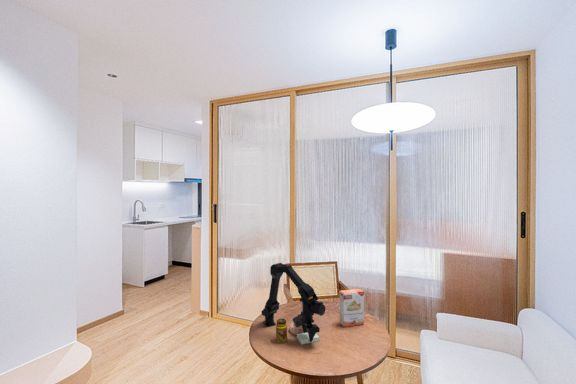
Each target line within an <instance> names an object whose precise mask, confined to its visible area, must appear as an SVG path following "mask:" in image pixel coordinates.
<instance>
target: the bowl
mask: <svg viewBox="0 0 576 384" xmlns="http://www.w3.org/2000/svg"><path fill="white" fill-rule="evenodd" d="M289 327H290V328H289V331H290V333H291V334H293V335H295V336H297V334H302V333H304V332H303V328H302V325H301V326H299V327H296V326H295V325H294V323H293V322H291V323H290V325H289Z"/></svg>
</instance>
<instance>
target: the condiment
mask: <svg viewBox="0 0 576 384" xmlns="http://www.w3.org/2000/svg"><path fill="white" fill-rule="evenodd" d="M275 336H276V337H275V339H276V343H278V344H285V343H287V342H288V326H287V320H286V318H278V319H276V325H275Z"/></svg>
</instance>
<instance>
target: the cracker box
mask: <svg viewBox="0 0 576 384" xmlns="http://www.w3.org/2000/svg"><path fill="white" fill-rule="evenodd" d="M364 295H365V291H364V290H362V289H360V288H353V289H343V290H339V324H340V325H341V326H342V327H343V328H348V327H354V326H355V325H356V326H362V325H361V324H363V325H364V323H365V322H364V321H365V314H364V312H365V309H364V308H365V304H364V303H365V302H364V301H365V296H364ZM356 326H355V327H356Z"/></svg>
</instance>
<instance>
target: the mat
mask: <svg viewBox="0 0 576 384" xmlns="http://www.w3.org/2000/svg"><path fill="white" fill-rule="evenodd" d="M295 339H296V341H297V342H298V343H299V344H300V346H303V345H308V344H312V343H313V344H314V343H319V342H321V339H319V341H316V342H311V343H306V344H301V343H300V342H299V340H298V339H297V337H295Z"/></svg>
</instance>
